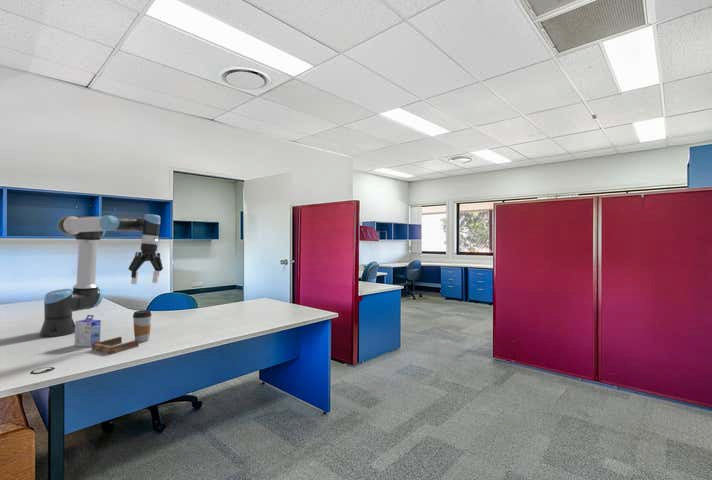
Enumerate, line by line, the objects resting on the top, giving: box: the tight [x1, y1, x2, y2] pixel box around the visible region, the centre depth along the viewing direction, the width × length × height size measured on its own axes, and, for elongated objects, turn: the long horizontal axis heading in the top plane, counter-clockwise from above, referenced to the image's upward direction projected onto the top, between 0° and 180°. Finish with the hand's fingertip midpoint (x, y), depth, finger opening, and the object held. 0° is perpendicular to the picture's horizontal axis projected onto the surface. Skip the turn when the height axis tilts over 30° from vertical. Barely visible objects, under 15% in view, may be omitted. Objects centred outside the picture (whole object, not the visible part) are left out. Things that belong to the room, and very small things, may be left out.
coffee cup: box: [132, 309, 152, 343], centre depth 183 cm, size 8×8×15 cm
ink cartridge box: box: [74, 314, 102, 348], centre depth 175 cm, size 10×6×14 cm, turn 78°
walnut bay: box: [91, 336, 140, 355], centre depth 170 cm, size 14×13×3 cm
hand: (144, 283), depth 187 cm, fingers open, 13 cm apart
